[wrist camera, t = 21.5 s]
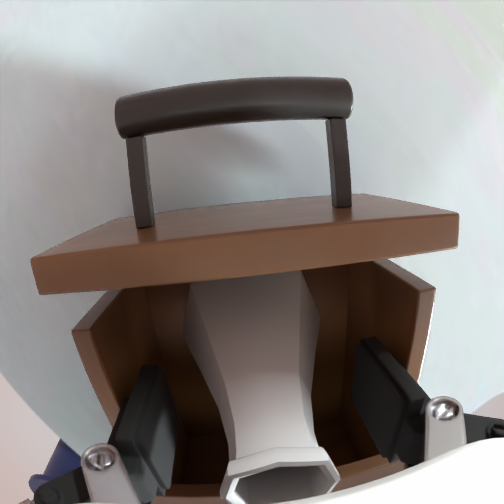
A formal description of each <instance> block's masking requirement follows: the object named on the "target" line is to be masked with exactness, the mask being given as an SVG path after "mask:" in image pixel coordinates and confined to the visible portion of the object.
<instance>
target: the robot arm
mask: <svg viewBox="0 0 504 504" xmlns="http://www.w3.org/2000/svg"><path fill="white" fill-rule="evenodd" d="M351 398H352V401H353V403H354V405H355V407H356V409H357V411H358V413H359V414H360V416H361V418H362V420H363V422H364V424H365V426H366V428H367V429H368V431H369V433H370V435H371V437H372V439H373V441H374V443H375V445H376V447H377V449H378V450H379V452H380V454H381V456H382V457H383V458H387V459H388V461H389V463H393V462H396V461H398V460H400V461H401V462H403V463H404V469H403V471H400V472H397V473H395V474H392V475H389V476H386V477H383V478H381V479H378V480H375V481H371V482H368V483H365V484H362V485H358V486H355V487H351V488H348V489H344V490H340V491H336V492H332V493H328V494H324V495H319V496H314V497H310V498H304V499H299V500H293V501H287V502H281V503H274V504H504V420H503V419H497V418H490V417H483V416H477V415H471V414H465V413H463V408H462V405H461V404H460V403H459V402H458V401H457V400H456V399H454V398H451V397H447V396H440V397H436V398H433V399H432V400H431V399H430V398H429V397H428V395H427V394H426V393H425V392H424V391H423V389H422V388H421V387H420V386H419V385H418V383H417V382H416V381H415V380H414V379H413V378H412V376H411V375H410V374H409V373H408V372H407V370H406V369H405V368H404V367H403V366H402V365H401V364H400V363H398V362H397V361H396V360H395V359H394V357H393V356H392V355H391V354H390V353H389V352H388V350H387V349H386V348H385V347H384V346H383V345H382V343H381V342H380V341H379V340H378V339H377V338H376V337H375V336H373V337H368V338H364V339H361V340H360V343H358V344H357V345H356V353H355V364H354V373H353V382H352V390H351ZM178 427H179V418H178V414H177V411H176V408H175V405H174V402H173V399H172V396H171V393H170V390H169V387H168V384H167V381H166V377H165V374H164V371H163V369H162V368H158V366H157V365H156V364H154V365H142V367H141V369H140V371H139V374H138V377H137V379H136V382H135V384H134V387H133V390H132V392H131V395H130V397H126V398H125V399H124V400H123V403H122V406H121V408H120V411H119V413H118V416H117V419H116V421H115V424H114V427H113V429H112V432H111V435H110V438H109V440H108V443H107V444H105V443H100V444H95V445H92V446H90V447H89V448H87V449H86V450H85V451H84V453H83V454H82V457H81V467H79V468H77V469H75V470H73V471H71V472H69V473H67V474H64V475H62V476H60V477H58V478H56V479H54V480H51V481H49V482H47V483H45V484H43V485H41V486H39V487H38V489H37V490H36V491H35V494H34V499H33V500H32V501H30V500H29V499H26V500H24V501H23V502H21V503H19V504H153V503H152V500H153V499H155V498H156V496H165V490H166V489H170V486H171V478H172V470H173V462H174V455H175V447H176V440H177V433H178Z"/></svg>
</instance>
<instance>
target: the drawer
mask: <svg viewBox="0 0 504 504" xmlns="http://www.w3.org/2000/svg"><path fill="white" fill-rule="evenodd" d="M352 108H353V93H352V89H351V86H350V84H349V82H348V81H347V80H346V79H344V78H329V77H259V78H242V79H229V80H218V81H209V82H201V83H193V84H186V85H179V86H173V87H167V88H161V89H156V90H151V91H146V92H141V93H136V94H132V95H127V96H123V97H120V98H118V99H117V101H116V104H115V122H116V127H117V130H118V132H119V135H120V136H121V138H123V139H126V145H127V157H128V167H129V177H130V186H131V194H132V202H133V209H134V216H132V217H126V218H119V219H114V220H111V221H109V222H107V223H105V224H102V225H100V226H98V227H95V228H93V229H91V230H89V231H87V232H84V233H82V234H80V235H78V236H76V237H74V238H71V239H69V240H67V241H65V242H63V243H61V244H59V245H57V246H55V247H53V248H50V249H48V250H46V251H44V252H42V253H40V254H38V255H36V256H34V257H33V258H31V266H32V270H33V274H34V278H35V281H36V285H37V289H38V292H39V294H40V295H48V294H62V293H76V292H89V291H101V290H108V291H107V292H106V293H105V294H104V295H103V296H102V297H101V298H100V300H99V301H98V302H97V303H96V304H95V305H94V306H93V307H92V308H91V309H90V310H89V311H88V313H87V314H86V315H85V316H84V317H83V318H82V319H81V320H80V321H79V323H78V324H77V325H76V326H75V327H74V328H73V329H72V336H73V338H74V341H75V344H76V347H77V349H78V352H79V355H80V357H81V360H82V362H83V365H84V367H85V370H86V372H87V375H88V377H89V379H90V382H91V384H92V386H93V388H94V391H95V393H96V395H97V397H98V399H99V401H100V403H101V405H102V408H103V410H104V412H105V414H106V416H107V418H108V419H109V421H110V423H111V425H112V427H114V424H115V421H116V419H117V416H118V413H119V411H120V408H121V406H122V403H123V400H124V399H125V398H126V397H130V395H131V392H132V390H133V387H134V384H135V382H136V379H137V377H138V374H139V371H140V369H141V367H142V365H154V364H156V365H157V366H158V368H162V369H163V371H164V374H165V377H166V381H167V384H168V387H169V390H170V393H171V396H172V399H173V402H174V405H175V408H176V411H177V414H178V418H179V427H178V433H177V440H176V447H175V455H174V462H173V470H172V478H171V484H220V483H222V482H223V479H224V476H225V473H226V470H227V467H228V464H229V446H228V441H227V438H226V434H225V431H224V427H223V423H222V419H221V416H220V412H219V408H218V406H217V404H216V402H215V400H214V398H213V396H212V394H211V392H210V390H209V388H208V386H207V383H206V381H205V379H204V377H203V375H202V373H201V371H200V368H199V367H198V365H197V363H196V361H195V359H194V357H193V355H192V353H191V351H190V349H189V347H188V345H187V343H186V341H185V339H184V336H183V328H184V321H185V314H186V307H187V301H188V294H189V288H190V284H191V283H194V282H198V281H208V280H218V279H227V278H236V277H245V276H254V275H263V274H271V273H280V272H288V271H297V270H301V271H302V273H303V276H304V278H305V281H306V283H307V285H308V288H309V290H310V293H311V295H312V298H313V300H314V302H315V305H316V307H317V310H318V312H319V315H320V325H319V333H318V339H317V346H316V352H315V362H314V372H313V381H312V390H311V403H312V413H313V425H314V433H315V436H316V440H317V443H318V446H319V447H322V448H324V450H325V451H326V452H327V454H328V456H329V457H330V459H331V461H332V462H333V464H334V466H335V467H337V466H341V465H344V464H348V463H352V462H355V461H359V460H362V459H366V458H369V457H372V456H375V455H378V454H380V452H379V450H378V449H377V447H376V445H375V443H374V441H373V439H372V437H371V435H370V433H369V431H368V429H367V428H366V426H365V424H364V422H363V420H362V418H361V416H360V414H359V413H358V411H357V409H356V407H355V405H354V403H353V401H352V398H351V390H352V382H353V373H354V364H355V353H356V345H357V344H358V343H360V340H361V339H364V338H368V337H373V336H375V337H376V338H377V339H378V340H379V341H380V342H381V343H382V345H383V346H384V347H385V348H386V349H387V350H388V352H389V353H390V354H391V355H392V356H393V357H394V359H395V360H396V361H397V362H398V363H400V364H401V365H402V366H403V367H404V368H405V369H406V370H407V372H408V373H409V374H410V375H411V376H412V378H413V379H414V380H415V381H416V382H417V383H418V380H419V376H420V372H421V368H422V364H423V360H424V355H425V351H426V346H427V341H428V336H429V331H430V325H431V319H432V313H433V306H434V299H435V292H436V288H435V287H434V286H432V285H430V284H429V283H427V282H425V281H424V280H422V279H420V278H419V277H417V276H415V275H414V274H412V273H410V272H409V271H407V270H405V269H404V268H402V267H400V266H398V265H397V264H395V263H393V262H392V261H390V260H388V258H395V257H402V256H409V255H416V254H423V253H430V252H436V251H443V250H449V249H455V248H457V247H458V235H459V214H458V213H457V212H453V211H448V210H444V209H439V208H435V207H430V206H426V205H421V204H416V203H411V202H406V201H401V200H396V199H391V198H385V197H380V196H374V195H369V194H351V177H350V163H349V151H348V140H347V130H346V121H345V119H348V118H349V117H350V115H351V112H352ZM279 120H326V121H325V123H326V133H327V143H328V154H329V166H330V180H331V195H329V196H315V197H301V198H289V199H277V200H266V201H255V202H245V203H236V204H226V205H217V206H208V207H200V208H192V209H183V210H176V211H168V212H161V213H154V210H153V203H152V195H151V186H150V177H149V168H148V158H147V146H146V138H145V137H144V136H147V135H152V134H158V133H164V132H170V131H177V130H184V129H191V128H198V127H206V126H215V125H224V124H235V123H247V122H261V121H279Z"/></svg>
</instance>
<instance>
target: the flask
mask: <svg viewBox="0 0 504 504" xmlns="http://www.w3.org/2000/svg"><path fill="white" fill-rule="evenodd" d="M319 325H320V315H319V312H318V310H317V307H316V305H315V302H314V300H313V298H312V295H311V293H310V290H309V288H308V285H307V283H306V281H305V278H304V276H303V273H302V271H301V270H297V271H288V272H280V273H271V274H263V275H254V276H245V277H236V278H227V279H218V280H208V281H198V282H194V283H191V284H190V288H189V294H188V301H187V307H186V314H185V321H184V328H183V336H184V339H185V341H186V343H187V345H188V347H189V349H190V351H191V353H192V355H193V357H194V359H195V361H196V363H197V365H198V367H199V368H200V371H201V373H202V375H203V377H204V379H205V381H206V383H207V386H208V388H209V390H210V392H211V394H212V396H213V398H214V400H215V402H216V404H217V406H218V408H219V412H220V416H221V419H222V423H223V427H224V431H225V434H226V438H227V441H228V446H229V464H228V467H227V470H226V473H225V476H224V479H223V482H222V485H221V489H220V498H221V499H223V500H224V501H225V502H227V503H228V504H274V503H281V502H287V501H293V500H299V499H304V498H310V497H314V496H319V495H324V494H328V493H330V492H331V491H332V489H333V488H334V487H335V486H336V484H337V483H338V482H339V481H340V475H339V473H338V471H337V469H336V468H335V466H334V464H333V462H332V461H331V459H330V457H329V456H328V454H327V452H326V451H325V450H324V448H322V447H319V446H318V443H317V440H316V436H315V433H314V425H313V413H312V403H311V390H312V381H313V372H314V362H315V352H316V346H317V339H318V333H319Z"/></svg>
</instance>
